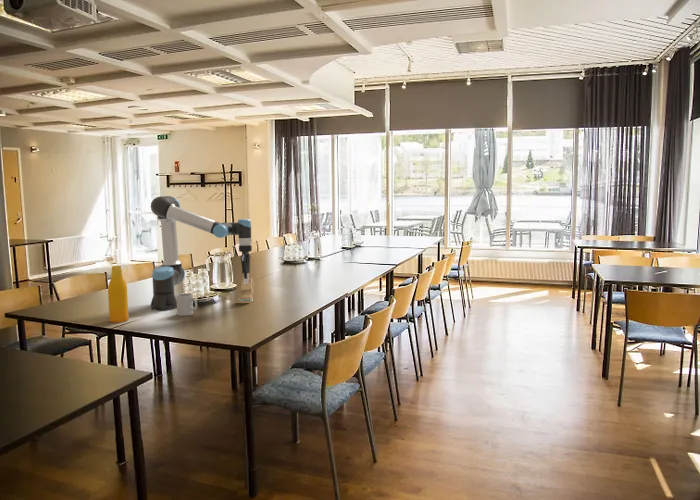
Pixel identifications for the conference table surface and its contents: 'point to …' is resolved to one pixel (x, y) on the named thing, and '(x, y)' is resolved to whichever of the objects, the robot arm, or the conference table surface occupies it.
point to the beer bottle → (117, 297)
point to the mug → (185, 304)
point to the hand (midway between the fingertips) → (246, 283)
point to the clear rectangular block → (247, 290)
